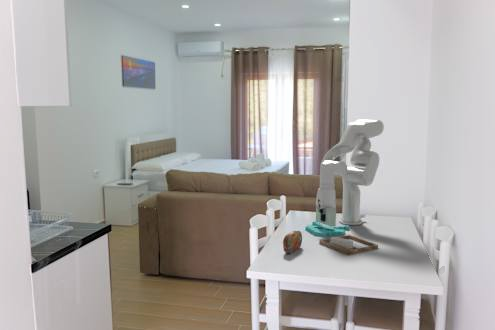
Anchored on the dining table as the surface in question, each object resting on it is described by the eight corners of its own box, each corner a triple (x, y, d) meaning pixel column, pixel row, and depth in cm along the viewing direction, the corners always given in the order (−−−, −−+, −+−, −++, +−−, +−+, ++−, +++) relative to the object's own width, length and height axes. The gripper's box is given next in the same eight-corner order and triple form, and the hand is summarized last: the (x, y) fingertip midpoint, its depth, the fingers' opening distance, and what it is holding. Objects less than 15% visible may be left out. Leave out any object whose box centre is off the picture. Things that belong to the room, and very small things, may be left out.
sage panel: (320, 220, 232) (320, 204, 231) (335, 225, 222) (336, 208, 221) (315, 221, 231) (316, 204, 230) (331, 226, 221) (331, 209, 220)
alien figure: (313, 224, 241) (300, 234, 223) (313, 221, 240) (301, 229, 223) (349, 229, 232) (338, 239, 214) (349, 225, 231) (339, 235, 214)
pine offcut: (334, 244, 207) (334, 240, 206) (352, 251, 196) (352, 247, 196) (329, 245, 205) (329, 241, 205) (347, 252, 195) (347, 248, 195)
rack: (348, 237, 216) (348, 234, 216) (377, 248, 200) (378, 244, 200) (319, 243, 206) (319, 240, 206) (347, 255, 190) (347, 251, 190)
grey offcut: (333, 241, 205) (333, 236, 204) (352, 246, 198) (353, 240, 198) (330, 243, 202) (330, 237, 202) (349, 247, 196) (349, 242, 195)
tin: (288, 255, 189) (288, 237, 188) (281, 254, 191) (281, 236, 189) (302, 246, 202) (303, 229, 200) (296, 245, 203) (296, 228, 202)
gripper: (333, 183, 231) (332, 217, 234) (309, 186, 223) (308, 221, 225) (343, 186, 225) (342, 220, 227) (319, 188, 217) (318, 224, 219)
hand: (325, 220), depth 226 cm, fingers closed on sage panel, 3 cm apart
